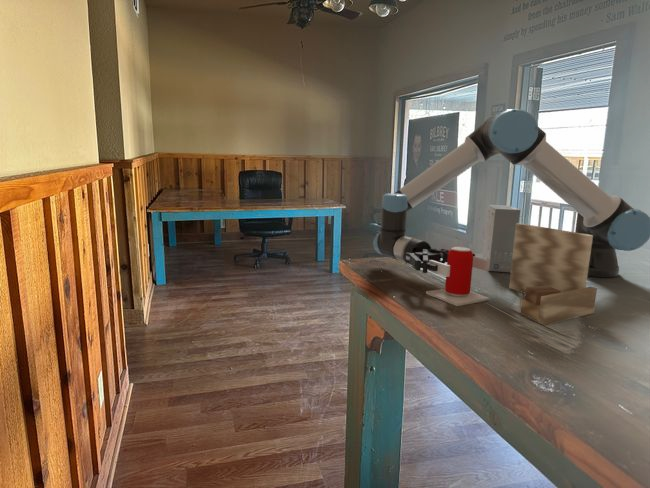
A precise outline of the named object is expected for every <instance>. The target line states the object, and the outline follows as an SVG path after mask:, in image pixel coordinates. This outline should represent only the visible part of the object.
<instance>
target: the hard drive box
mask: <svg viewBox="0 0 650 488" xmlns="http://www.w3.org/2000/svg"><path fill="white" fill-rule="evenodd" d="M521 211H522V210H521V209H520V208H517V207H514V206H511V205H501V204H500V205H499V204H488V205H487V212H486V213H487V214H486V223H485V234H484V244H483V253H482V254H483V255H482V259H486V260H490V266H489V271H488V272H500V273H509V274H511V265H512V256H513V246H514V237H515V228H516V224H517V223H520V217H521Z"/></svg>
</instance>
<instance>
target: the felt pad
mask: <svg viewBox="0 0 650 488" xmlns="http://www.w3.org/2000/svg"><path fill="white" fill-rule="evenodd" d="M425 293H426V294H427V295H428V296H431V297H434V298H436V299H439V300H441V301H443V302H446V303H448V304H450V305H452V306H456V307H461V306H466V305H470V304H476V303H482V302H487V301H490V297H488V296H485V295H483V294H479V293H477V292H474V291H471V290H470V293H469V294H468V295H466V296H464V297H456V296H452V295H450V294H449V293H447V292H446V290H445V287H444V288H439V289H433V290H427V291H425Z"/></svg>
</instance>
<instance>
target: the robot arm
mask: <svg viewBox="0 0 650 488" xmlns="http://www.w3.org/2000/svg"><path fill="white" fill-rule="evenodd" d="M538 125H539V124H538V122H537V119H536V118H535V116H534V115H532V113H530V112H528V111H526V110H524V109H520V108H519V109H518V108H509V109H506V110H505V109H504V110H503V111H500V112H498V113H496V114H493V115H491V116H490V117H488V118H487V119H486V120H484V122H482V124H481V125H479V126H478V127H477V128H476V129H474V130H473V131H472V132H471V133H470V134H469V135H467V136H466V137H465V139H464V142H463V143H462V144H460V145H459V146H458V147H456V148H455V149H453V150H452V151H450V152H449V153H447V155H445V156H444V157H442V158H440V159H439V160H438V161H437V162H435V163H434V164H433V165H431V166H429V167H428V168H426V169H425V170H424V171H422V172H421V173H420V174H419V175H417V176H416V177H414V178H412V179H411V180H410V181H409V182H407V183H406V184H405V185H403V186H402V187H401V188H399V189H398V190H397V191H396V192H393V193H384V194H383V195H382V201H381V204H380V211H381V217H380V218H381V219H380V220H381V221H380V225H381V226H380V231H379V232H377V233H376V235H375V237H374V238H373V248H374V250H375V252H377V253H378V254H380V255H382V256H384V257H386V258H390V259H393V260H396V261H399V262H403V263H404V265H410V266H412V268H413V269H415V270H416V271H421V269H422V273H423V274H428V271H429V272H432V273H434V274H438V275H441V276H444V277H445V278H446V277H449V275H450V265H447V258H448V252H449V251H450V249H449V250H448V249H444V248H441V249H437V248H432V247H431V245H430V244H429V242H428V241H425V240H422V239H419V238H414V237H410V236H407V235H406V233H407V232H406V231H407V230H406V228H407V215H408V212H409V211H411V210H412V209H414V208H415V207H416V206H417V205H419V204H420V203H422V202H423V201H425V200H426V199H428V198H429V197H431V196H432V195H433V194H435V193H436V192H438V191H439V190H440V189H443V188H444V187H445V186H446V185H448V184H449V183H450V182H453V180H454V179H456V178H457V177H459V176H460V175H462V174H463V173H465V172H466V171H467V170H469V169H470V168H472V167H473V166H474V165H476V164H477V163H479V162H480V163H485V162H486V161H487V160H489V159H490V158H492V157H494V156H496V155H499V154H500V155H501V156H502V157H504V158H505V159H506V160H507V161H508V162H509V163H511V164H512V165H513V166H523V167H524V168H525V169H527V171H529V172H530V173H531V174H533V175H534V176H535V177H536V178H537V179H538V180H539V181H540V182H541V183H543V184H544V185H545V186H547V188H549V189H550V190H551V191H552V192H553V193H555V194H556V195H557V196H558V197H559V198H560V199H562V201H564V202H565V203H567V205H569V206H570V207H571V208H572V209H573V210H574V211H576V213H577V215H576V224H575V230H574V232H576V233H582V234H588V235H593V240H592V247H591V254H590V261H589V268H588V275H587V277H595V278H616V277H618V276H619V273H620V266H619V263H618V257H617V251H616V250H618V251H624V252H625V251H626V252H628V251H629V252H630V251H635V250H637V249H640V248H641V247H643V246H644V245H645V244H646V243H647V242H648V241H649V240H650V216H649V215H648V214H647V213H646V212H644V211H642V210H640V209H637V208H633V207H632V206H631V205H630V204H629V203H628V202H627V201H625V200H624V199H623V198H621V197H620V196H619V195H617V194H616V195H614V194H613V195H609V194H608V193H607V192H605V191H604V190H603V189H602V188H601V187H599V186H598V185H597V184H596V183H595V182H594V181H593V180H592V179H590V178H589V177H588V176H587V175H586V174H584V173H583V172H582V171H581V170H580V169H579V168H578V167H576V166H575V165H574V164H573V163H572V162H570V161H569V160H568V159H567V158H566V157H565V156H564V155H563V154H562V153H560V152H559V151H558V150H557V149H555V148H554V147H553V146H552V145H551V144H550V143H549V142H547V133H546V132H545V131H544V130H542V128H540V127H539V126H538ZM441 259H442V260H441ZM489 266H490V260H486V259H483V257H482V258H481V257H477V256H476V254H475V253H473V266H472V268H475V269H479V270H482V271H485V272H490V271H489Z"/></svg>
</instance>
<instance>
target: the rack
mask: <svg viewBox="0 0 650 488" xmlns="http://www.w3.org/2000/svg"><path fill="white" fill-rule="evenodd" d="M592 240H593V235H588V234H582V233H576V232H575V231H568V230H564V229H557V228H550V227H544V226H538V225H534V224H533V225H532V224H526V223H521V222H519V223H517V224H516V228H515V237H514V246H513V256H512V265H511V273H509V274H510V275H509V284H508V285H509V287H508V288H509V289H512V290H515V291H518V292H520V293H523V294H525V290H526V287H538V286H550V287H552V288H555V289H557V290H559V291H561V293H556V294H551V295H546V296H541V301H540V310H539V318H538V320H537V324H540V325H543V326H546V325H551V324H554V323H558V322H562V321H566V320H571V319H575V318H579V317H582V316H583V317H584V316H586V315H587V316H588V315H591V314H594V312H595V304H596V299H597V291H598V288H596V287H594V286H593V287H592V286H587V283H588V282H587V280H588V276H587V275H588V268H589V261H590V254H591V247H592Z"/></svg>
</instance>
